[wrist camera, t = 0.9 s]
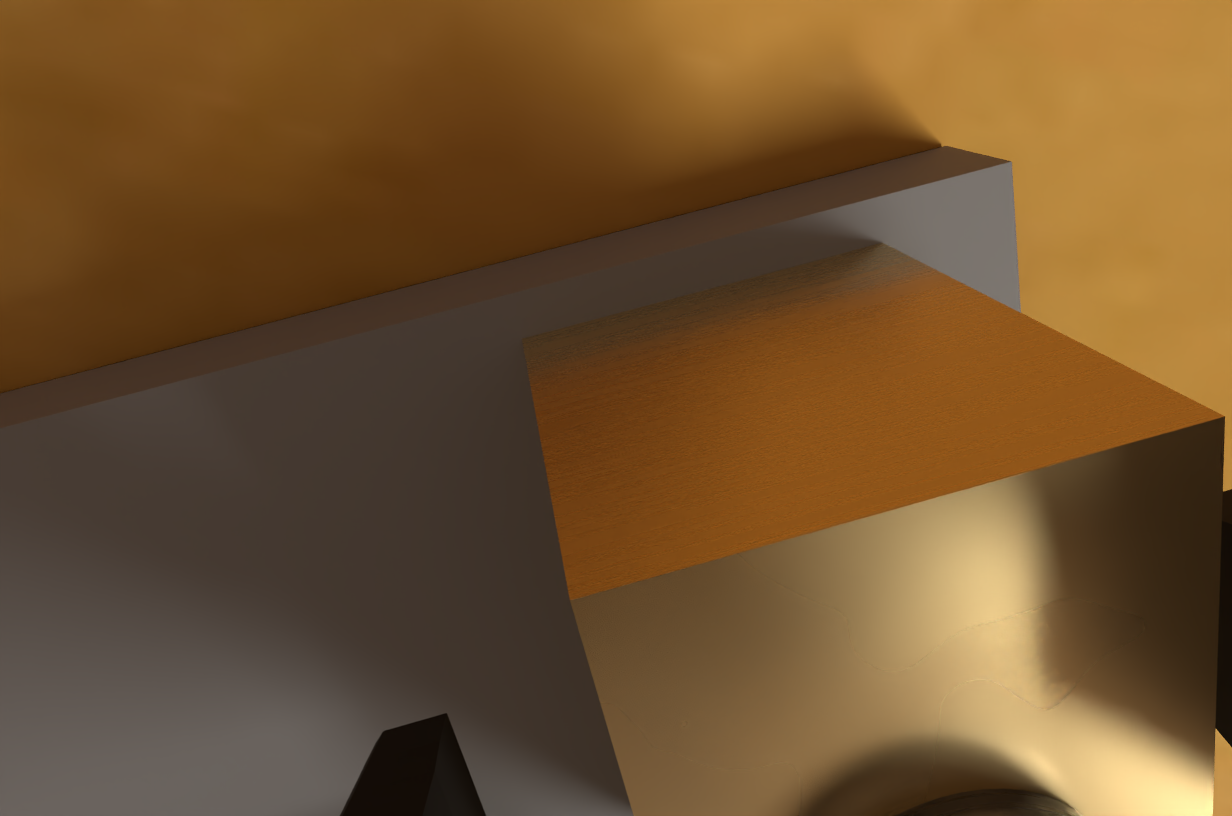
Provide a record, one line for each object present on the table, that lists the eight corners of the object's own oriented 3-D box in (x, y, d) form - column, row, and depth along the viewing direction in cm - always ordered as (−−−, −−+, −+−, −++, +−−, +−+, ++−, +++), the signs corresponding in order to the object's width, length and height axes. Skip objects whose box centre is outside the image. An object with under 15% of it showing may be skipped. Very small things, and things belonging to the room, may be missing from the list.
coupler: (940, 736, 13) (1255, 1204, 8) (657, 820, 13) (790, 1356, 8) (883, 242, 10) (1308, 458, 5) (522, 338, 10) (582, 666, 5)
